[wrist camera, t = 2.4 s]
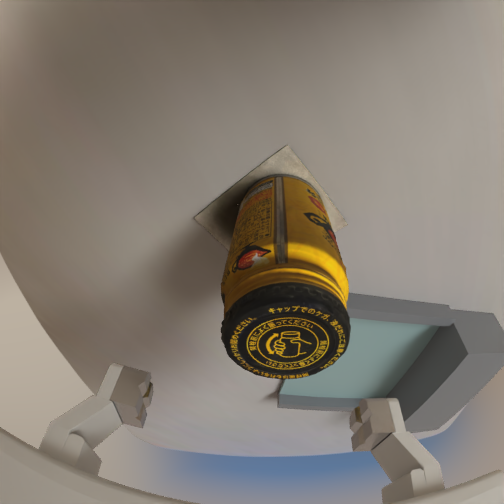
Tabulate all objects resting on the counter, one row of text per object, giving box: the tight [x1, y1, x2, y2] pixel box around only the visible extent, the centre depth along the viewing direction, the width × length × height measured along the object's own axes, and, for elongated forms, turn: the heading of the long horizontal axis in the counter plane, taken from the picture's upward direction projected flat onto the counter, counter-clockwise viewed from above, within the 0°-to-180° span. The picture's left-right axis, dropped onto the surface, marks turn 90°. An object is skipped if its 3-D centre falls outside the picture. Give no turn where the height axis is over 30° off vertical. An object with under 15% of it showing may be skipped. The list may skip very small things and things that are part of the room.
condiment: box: [194, 145, 351, 379], centre depth 17 cm, size 7×8×12 cm
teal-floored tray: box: [277, 293, 504, 433], centre depth 27 cm, size 17×22×6 cm
